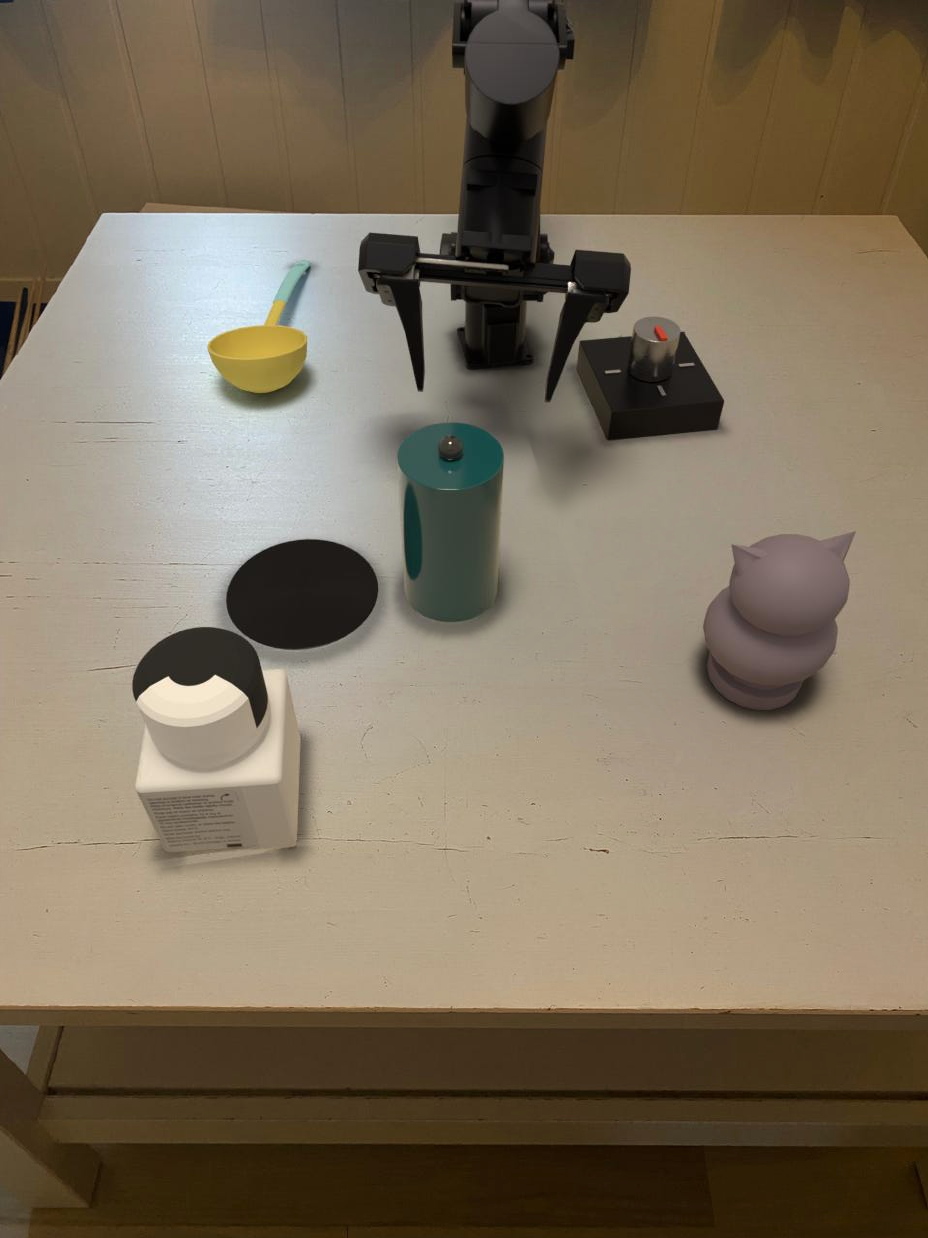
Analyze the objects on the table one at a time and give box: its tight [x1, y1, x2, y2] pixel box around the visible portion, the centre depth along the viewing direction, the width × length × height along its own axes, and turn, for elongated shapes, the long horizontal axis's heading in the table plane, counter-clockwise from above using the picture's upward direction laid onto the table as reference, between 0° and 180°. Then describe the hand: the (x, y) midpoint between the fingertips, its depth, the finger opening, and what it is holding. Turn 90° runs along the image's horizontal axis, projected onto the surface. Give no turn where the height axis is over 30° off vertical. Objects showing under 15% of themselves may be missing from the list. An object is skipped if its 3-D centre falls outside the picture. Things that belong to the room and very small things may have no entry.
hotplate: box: [225, 538, 379, 651], centre depth 69 cm, size 11×11×1 cm
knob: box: [627, 316, 681, 382], centre depth 82 cm, size 4×4×4 cm
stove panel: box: [576, 331, 725, 441], centre depth 85 cm, size 11×10×3 cm
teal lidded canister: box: [396, 422, 505, 623], centre depth 64 cm, size 7×7×14 cm
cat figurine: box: [702, 530, 857, 711], centre depth 60 cm, size 8×8×12 cm
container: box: [131, 626, 301, 854], centre depth 53 cm, size 8×8×13 cm
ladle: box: [206, 259, 312, 394], centre depth 92 cm, size 9×26×6 cm, turn 177°
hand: (483, 396), depth 68 cm, fingers open, 9 cm apart
